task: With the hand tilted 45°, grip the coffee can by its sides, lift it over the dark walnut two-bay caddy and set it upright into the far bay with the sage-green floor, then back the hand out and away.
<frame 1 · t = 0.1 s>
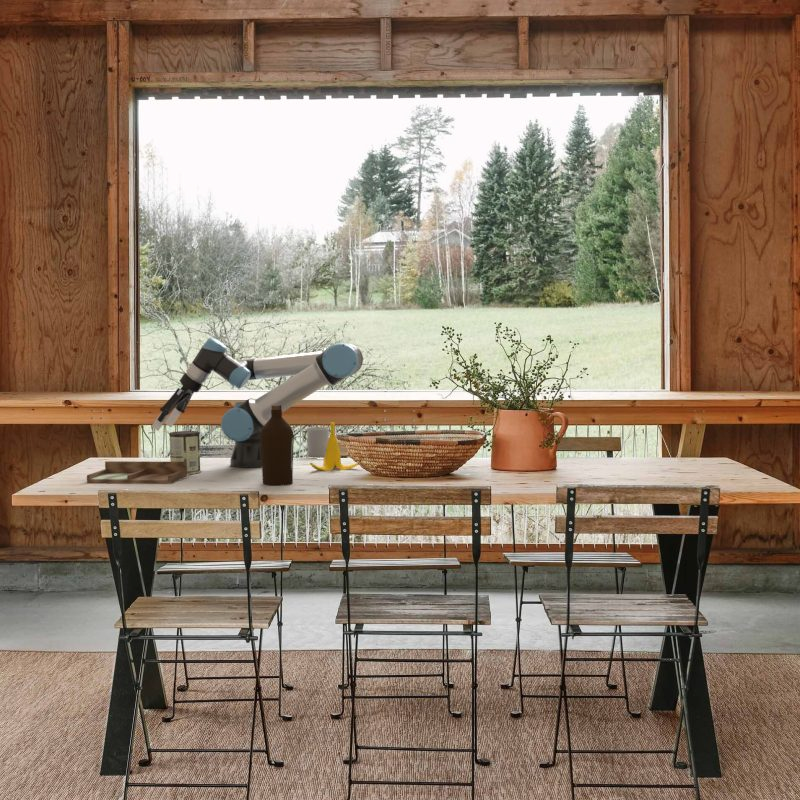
hand: (161, 426, 347), 15 cm above the table, tool tilted 35°, fingers open, 13 cm apart
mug: (320, 456, 386), on the table
caddy: (138, 479, 323), on the table
coffee can: (185, 473, 339), on the table
olive oil: (278, 484, 312), on the table
banana peel: (339, 470, 346), on the table
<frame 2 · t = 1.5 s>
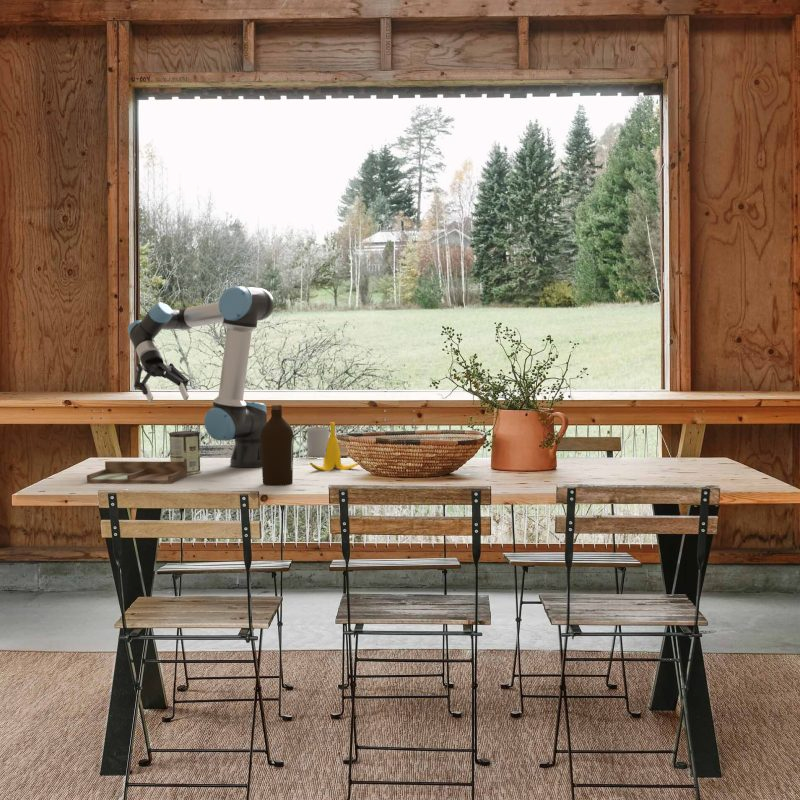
hand: (169, 399, 346), 25 cm above the table, tool tilted 45°, fingers open, 13 cm apart
nothing on the table moved.
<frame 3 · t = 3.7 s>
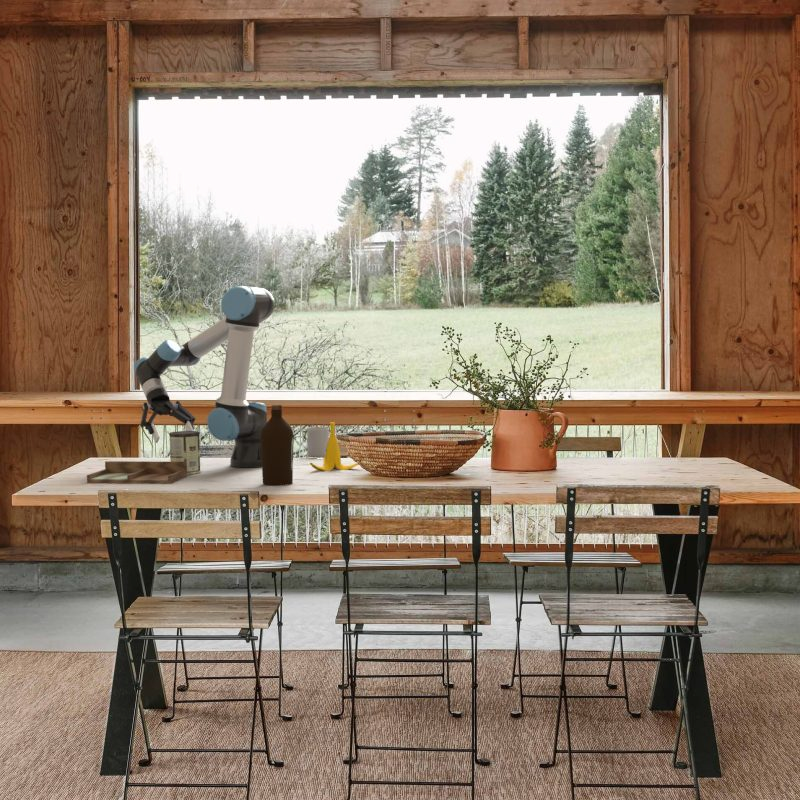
hand: (175, 438, 342), 11 cm above the table, tool tilted 45°, fingers open, 13 cm apart
nothing on the table moved.
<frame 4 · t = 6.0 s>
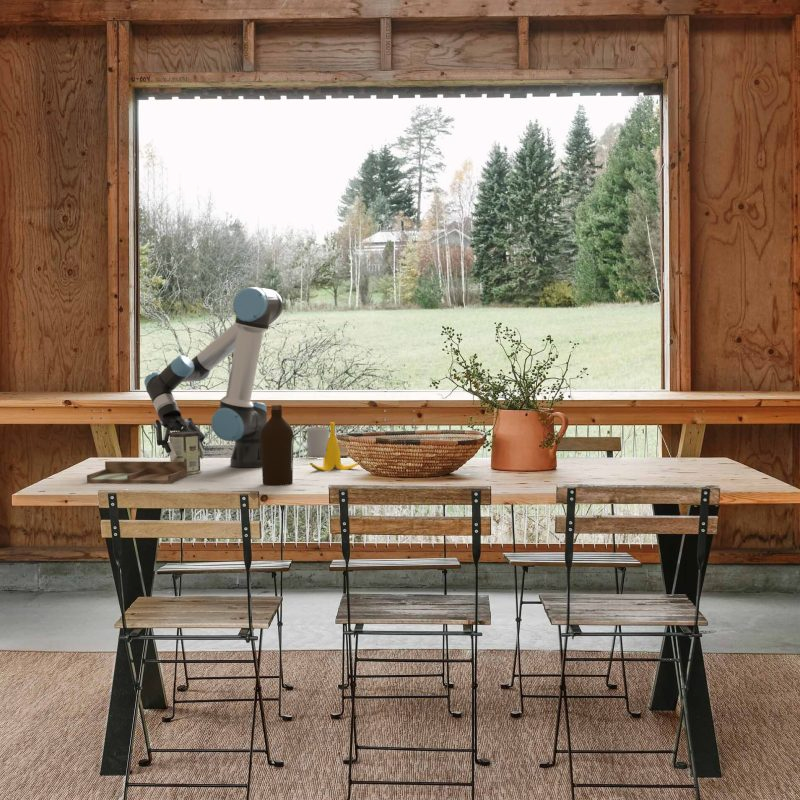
hand: (189, 457, 336), 6 cm above the table, tool tilted 45°, fingers closed on coffee can, 10 cm apart
coffee can: (185, 473, 339), on the table, touching gripper
everything else where it was.
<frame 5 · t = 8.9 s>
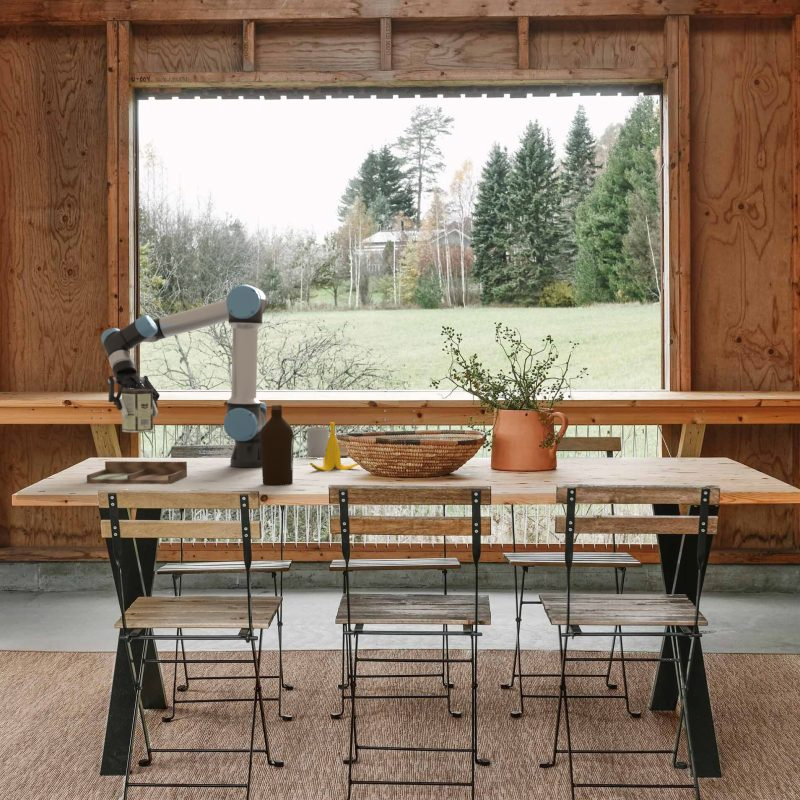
hand: (141, 415, 328), 21 cm above the table, tool tilted 45°, fingers closed on coffee can, 10 cm apart
coffee can: (137, 431, 331), point 15 cm above the table, touching gripper
everything else where it was.
when the fingers open (8 cm above the table, at t = 12.1 s): coffee can drops 1 cm, resting on caddy.
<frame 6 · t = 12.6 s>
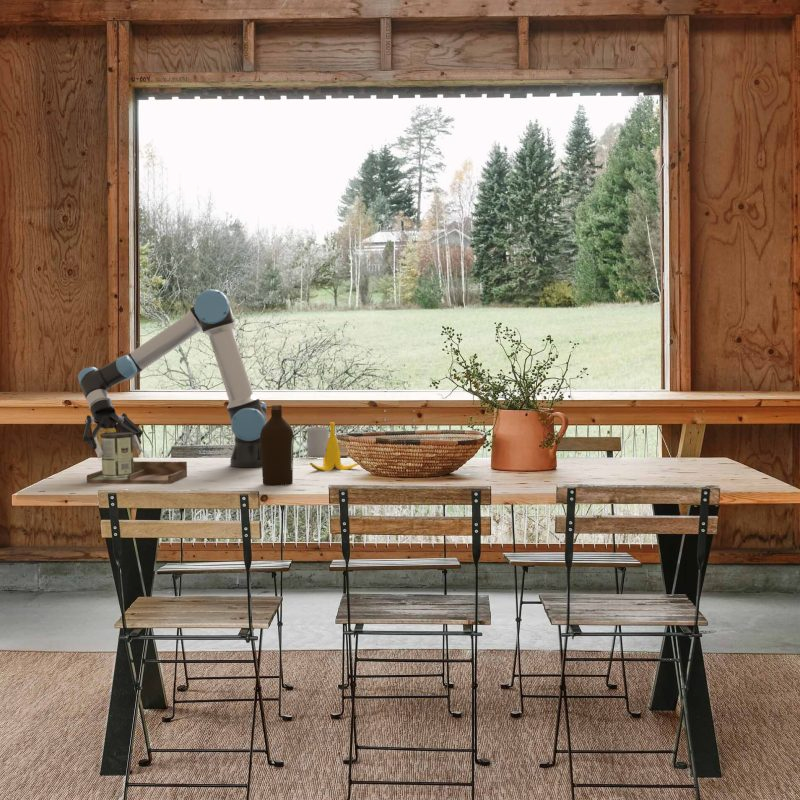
hand: (120, 454, 322), 9 cm above the table, tool tilted 45°, fingers open, 13 cm apart
coffee can: (117, 476, 324), point 1 cm above the table, touching caddy
everything else where it was.
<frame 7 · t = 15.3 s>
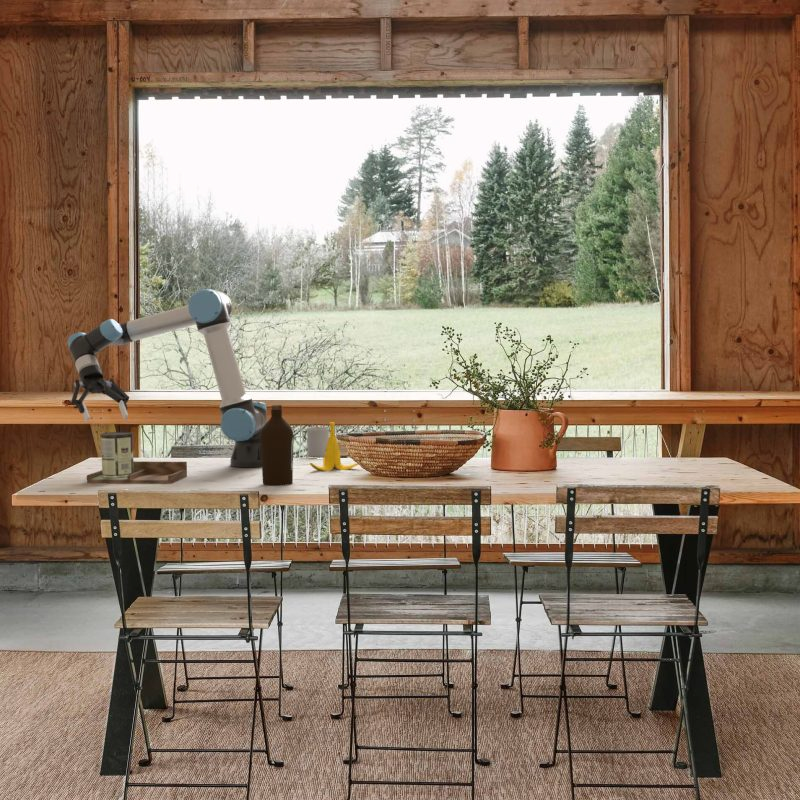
hand: (107, 418, 333), 19 cm above the table, tool tilted 40°, fingers open, 13 cm apart
nothing on the table moved.
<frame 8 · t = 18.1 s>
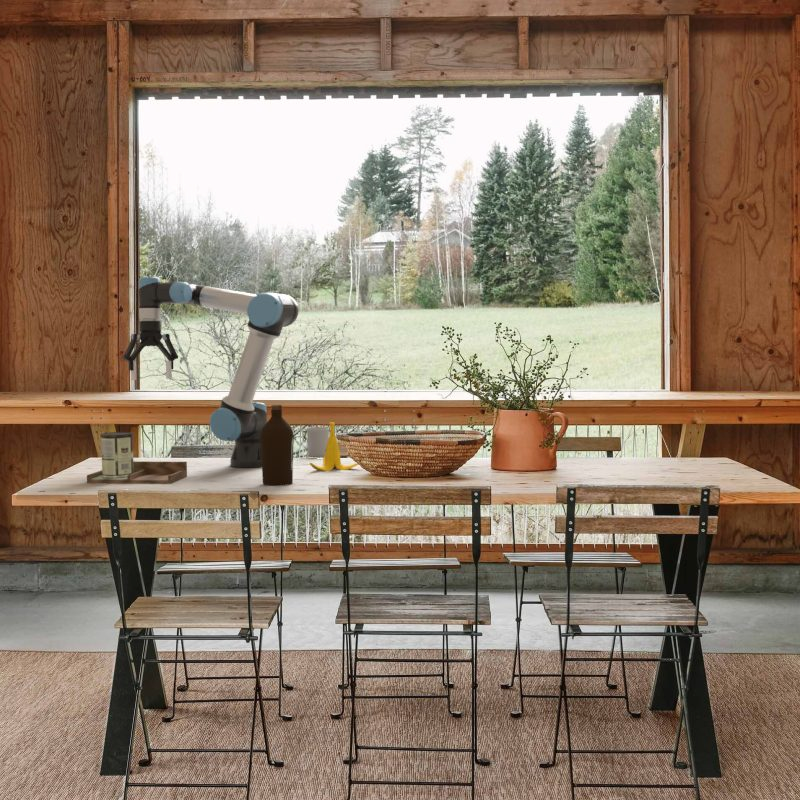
hand: (151, 379, 355), 32 cm above the table, tool pointing down, fingers open, 13 cm apart
nothing on the table moved.
at the end: coffee can inside the target area on the caddy (0.6 cm from its centre), point 1.0 cm above the caddy's base; coffee can tilted 0°; the gripper is holding nothing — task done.
